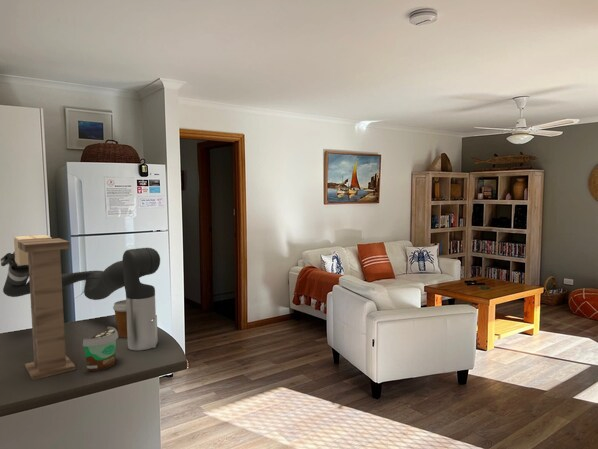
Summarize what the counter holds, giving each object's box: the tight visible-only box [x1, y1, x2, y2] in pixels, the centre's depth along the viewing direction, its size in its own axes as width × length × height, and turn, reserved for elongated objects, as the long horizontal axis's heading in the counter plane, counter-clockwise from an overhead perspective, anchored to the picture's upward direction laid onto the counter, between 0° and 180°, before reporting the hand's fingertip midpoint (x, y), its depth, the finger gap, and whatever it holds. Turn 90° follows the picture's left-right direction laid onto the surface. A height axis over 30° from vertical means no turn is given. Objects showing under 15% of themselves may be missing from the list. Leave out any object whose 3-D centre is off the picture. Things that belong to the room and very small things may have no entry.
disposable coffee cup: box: [112, 299, 128, 339], centre depth 160 cm, size 10×10×12 cm
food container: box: [82, 326, 119, 372], centre depth 133 cm, size 12×6×10 cm, turn 168°
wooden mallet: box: [13, 234, 53, 266], centre depth 146 cm, size 22×9×8 cm, turn 40°
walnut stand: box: [18, 237, 77, 381], centre depth 130 cm, size 12×11×38 cm
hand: (26, 249), depth 151 cm, fingers closed on wooden mallet, 4 cm apart
